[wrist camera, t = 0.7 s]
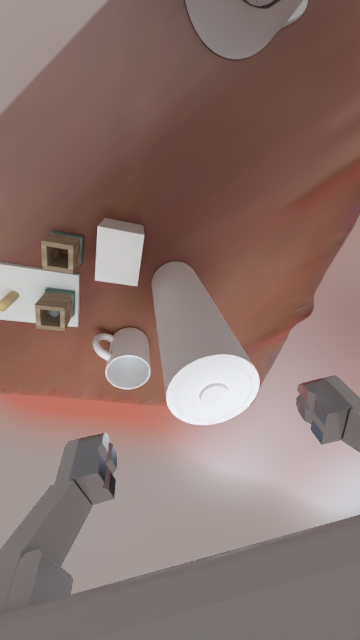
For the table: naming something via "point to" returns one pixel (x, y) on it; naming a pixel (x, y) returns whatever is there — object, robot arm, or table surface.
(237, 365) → the cylinder container
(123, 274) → the white box
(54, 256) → the sleeve
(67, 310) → the sleeve seated
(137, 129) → the table surface
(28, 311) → the pin board
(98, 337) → the mug
